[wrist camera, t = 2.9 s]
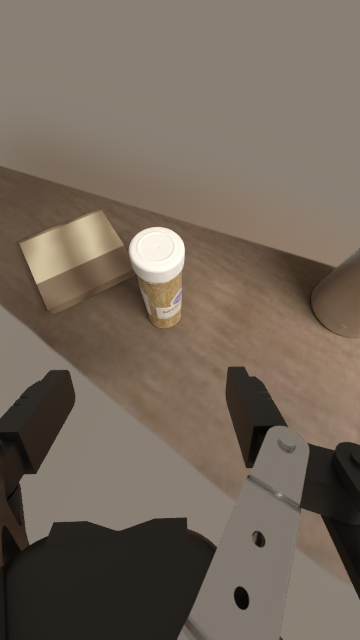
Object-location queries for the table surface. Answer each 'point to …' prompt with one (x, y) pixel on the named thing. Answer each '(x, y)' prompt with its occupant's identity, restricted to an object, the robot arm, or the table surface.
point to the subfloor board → (76, 260)
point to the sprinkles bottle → (159, 273)
